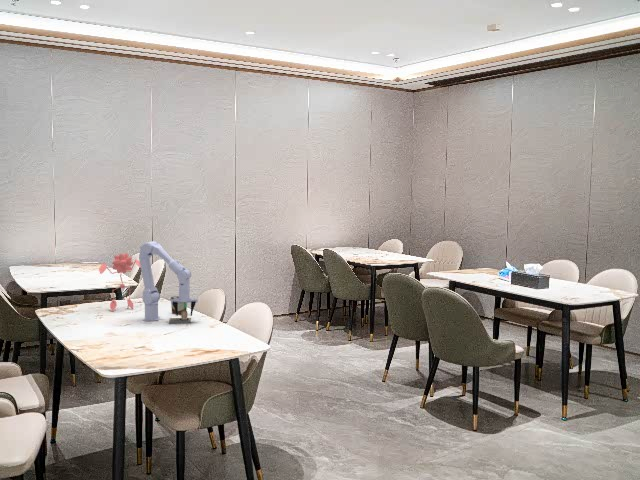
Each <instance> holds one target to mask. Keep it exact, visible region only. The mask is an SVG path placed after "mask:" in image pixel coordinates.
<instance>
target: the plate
mask: <svg viewBox="0 0 640 480" xmlns="http://www.w3.org/2000/svg"><path fill="white" fill-rule="evenodd" d="M191 322H192V317H187V320H181V317H170V318H169V320H168V324H169V325H177V324H178V325H181V324H182V325H183V324H185V325H186V324H191Z"/></svg>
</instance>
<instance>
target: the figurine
mask: <svg viewBox="0 0 640 480" xmlns="http://www.w3.org/2000/svg"><path fill="white" fill-rule="evenodd" d="M113 258H114V260H113V261H112V262H111V263H112V265H113V266H112V269H113V270H116V271H115V272H112V271H111V270H110V269H109V268H108V266H107V265H106V263H103V264H101V265H100V266H99V269H98V272H99V274H101V275H102V274H103V273H104V272H105V271H106V269H107V270H108V272H109V273H110V274H111V275H113V274H116V273H117V274H120V276H119V277H120V280H121V284H119V286H118V287H116V288H115V289H113V290H112V292H111V293H114V291H115V290H117V289H120V288H121V289H124V288H126V289H128V290H130V287H129V288H128V287H127V286H125V284H124V283H123V278H122V273H123V274H126V273H127V272H129V273H130V272H131V271H132V270H133V269H134V267H135V264H136V265H137V266H138V267H139V268H140V269H141V266H140V261H139V259H134V262H133V261H132V260H133V258H132V256H129V254H128V252H125V253H124V254H123V253H119V255H118V254H115V255H114V257H113ZM131 266H132V267H131ZM128 293H129V295H128V296H129V298H128V299H127V301H126V302H127V309H129V308H131V309H132V310H134V302H133V301H132V300H131V291H129V292H128ZM114 297H115V296H114V295H112V300H111V301H110V304H109V308H110V310H111V312H113V311H115V309H117V305H118V303H117V300H115V298H114ZM139 311H141V310H136V311H135V313H137V312H139ZM129 314H131V312H129Z"/></svg>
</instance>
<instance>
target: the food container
mask: <svg viewBox="0 0 640 480" xmlns="http://www.w3.org/2000/svg"><path fill="white" fill-rule="evenodd" d="M169 298H170V299H169V300H170V301H171V299H179V295H178V296H177V295H175V296H170V297H169ZM181 302H182V301H181ZM186 302H187V301H186ZM170 304H171V305H170V307H171V314H172V315H176V311H175V308H174V306H173V303H171V302H170ZM187 307H188V303H178V316H181V311H188V310H187V309H188V308H187Z"/></svg>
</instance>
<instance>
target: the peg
mask: <svg viewBox="0 0 640 480" xmlns="http://www.w3.org/2000/svg"><path fill="white" fill-rule="evenodd" d="M180 316H181V317H180V318H181V320H187V318H188V310H186V311H181V315H180Z"/></svg>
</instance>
